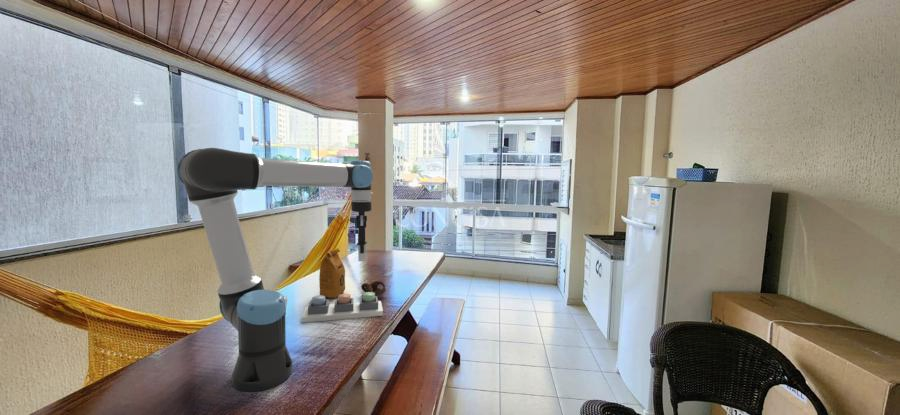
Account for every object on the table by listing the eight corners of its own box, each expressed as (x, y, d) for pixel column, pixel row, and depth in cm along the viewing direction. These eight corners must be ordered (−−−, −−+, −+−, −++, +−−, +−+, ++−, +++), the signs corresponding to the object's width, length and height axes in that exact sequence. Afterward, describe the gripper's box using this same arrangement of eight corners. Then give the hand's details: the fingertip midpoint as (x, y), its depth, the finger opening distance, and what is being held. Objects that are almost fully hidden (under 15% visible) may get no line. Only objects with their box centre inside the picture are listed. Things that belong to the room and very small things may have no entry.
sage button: (362, 303, 141) (362, 296, 141) (362, 299, 146) (362, 292, 146) (375, 302, 143) (375, 295, 143) (374, 298, 148) (374, 291, 147)
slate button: (311, 307, 136) (311, 300, 136) (312, 302, 141) (312, 295, 141) (324, 306, 137) (324, 299, 137) (325, 301, 142) (325, 294, 142)
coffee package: (348, 291, 169) (348, 248, 167) (335, 300, 157) (335, 253, 155) (330, 290, 171) (330, 246, 169) (316, 298, 158) (315, 252, 157)
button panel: (302, 322, 132) (302, 310, 132) (306, 310, 144) (306, 299, 143) (382, 315, 141) (383, 303, 140) (380, 305, 152) (380, 294, 152)
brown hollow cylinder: (385, 292, 170) (388, 281, 166) (380, 307, 162) (383, 295, 158) (362, 286, 169) (364, 274, 165) (356, 300, 161) (358, 288, 157)
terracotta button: (337, 305, 139) (337, 298, 138) (338, 301, 144) (338, 294, 143) (350, 304, 140) (350, 297, 140) (350, 300, 145) (350, 293, 145)
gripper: (372, 202, 126) (372, 264, 128) (370, 199, 138) (371, 256, 141) (351, 202, 124) (351, 265, 126) (351, 199, 136) (352, 257, 139)
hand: (362, 260), depth 133 cm, fingers closed
